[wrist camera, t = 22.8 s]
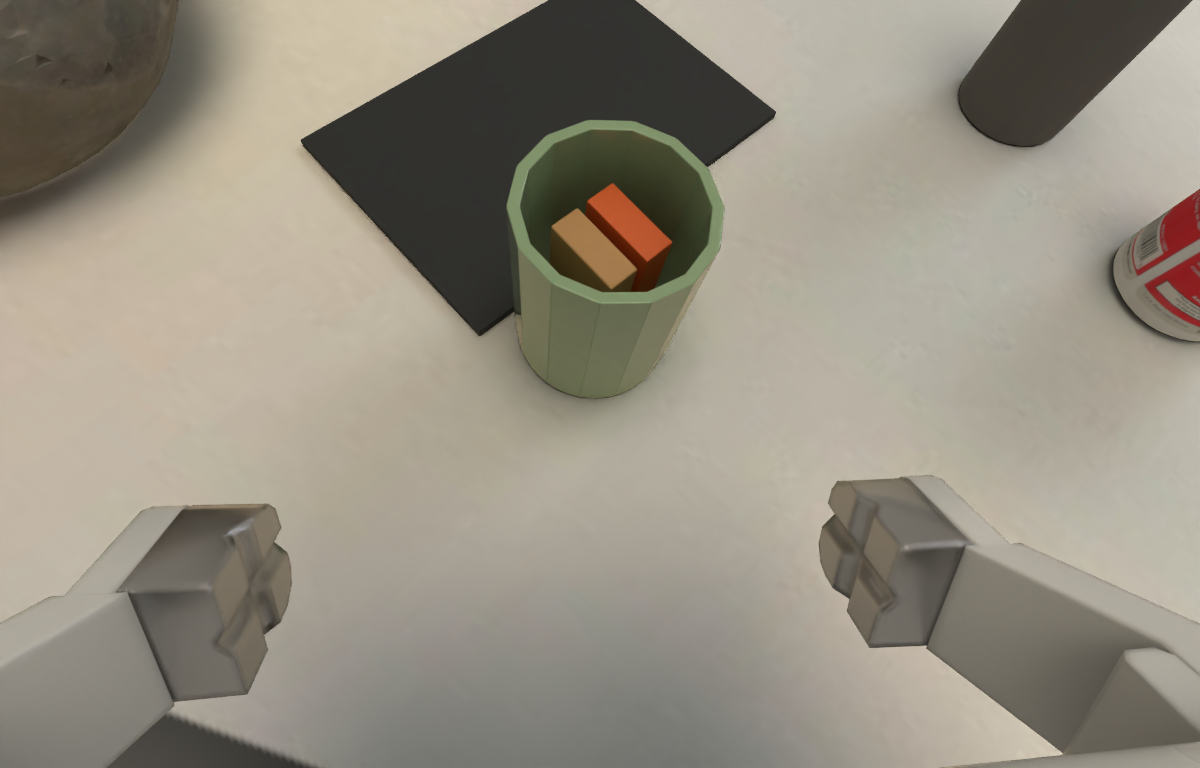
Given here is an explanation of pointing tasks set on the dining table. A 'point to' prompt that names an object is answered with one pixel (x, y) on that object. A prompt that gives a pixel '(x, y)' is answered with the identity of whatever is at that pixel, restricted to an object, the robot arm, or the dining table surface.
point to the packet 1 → (588, 255)
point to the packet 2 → (630, 235)
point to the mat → (518, 132)
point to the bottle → (1056, 63)
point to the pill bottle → (1165, 271)
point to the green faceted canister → (580, 313)
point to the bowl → (74, 79)
